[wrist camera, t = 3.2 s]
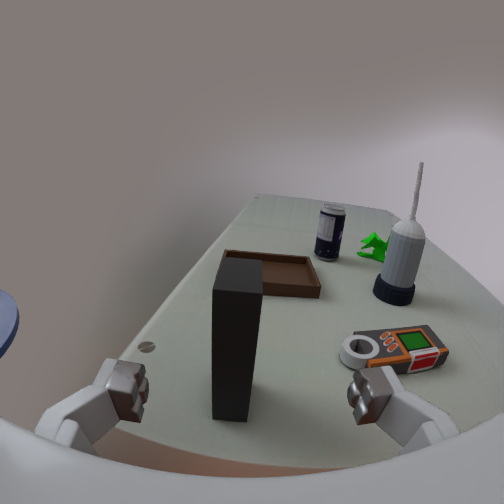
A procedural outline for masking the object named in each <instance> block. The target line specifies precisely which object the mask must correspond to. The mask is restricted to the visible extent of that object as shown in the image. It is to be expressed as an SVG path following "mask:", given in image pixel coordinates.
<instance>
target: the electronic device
mask: <svg viewBox="0 0 504 504" xmlns="http://www.w3.org/2000/svg"><path fill="white" fill-rule="evenodd" d="M352 350H353V351H352ZM448 354H449V350H448V349H447V348H446V347H445V345H444V344H443V343H442V342H441V340H440V339H439V338H438V337H437V336H436V334H435V333H434V332H433V331H432V330H431V328H430V327H429V326H428V325H421V326H413V327H404V328H394V329H383V330H372V331H358V332H354V334H353V335H352V336H349V337H347V338H346V339H345V340H344V342H343V345H342V349H341V352H340V359H341V361H342V362H343V363H344V364H345V365H346V366H348V367H350V368H352V369H356V370H357V369H365V368H373V367H381V366H391V367H392V368H393V370H394V372H395V373H396V374H399V373H405V372H406V374H408V373H413V372H418V371H422V370H427V369H431V368H432V367H434V366H438V365H442V364H444V362H445V360H446V358H447V356H448Z"/></svg>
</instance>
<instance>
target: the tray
mask: <svg viewBox="0 0 504 504" xmlns="http://www.w3.org/2000/svg"><path fill="white" fill-rule="evenodd" d="M223 257H232V258H243V259H255V260H262V273H263V294H264V295H277V296H291V297H306V298H319V295H320V290H321V284H320V282H319V279H318V277H317V275H316V272H315V270H314V268H313V265H312V263H311V260H310V258H309V257H307V256H295V255H283V254H271V253H260V252H248V251H237V250H224V254H223ZM223 257H222V258H223ZM221 261H222V260H221ZM220 264H221V263H220ZM219 267H220V266H219ZM218 270H219V269H218ZM217 274H218V272H217ZM216 277H217V275H216Z"/></svg>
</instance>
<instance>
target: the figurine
mask: <svg viewBox="0 0 504 504" xmlns="http://www.w3.org/2000/svg"><path fill="white" fill-rule="evenodd" d="M389 239H390V236H389ZM389 239H388V241H387V242H386V243H385V242H384V241H382V240H381V239H380V238H379V237H378V236H377V235H376V233H375V232H373V233H372V234H371V235H370V236H369V237H368V238H366V239H364V240H362V241H361V242H363V243H366V244H367V245H365V246H363V247H362V248H361V249H363V248H369V247H371V246H372V247H374V248H375V249H373V254H370V253H363V252H358V253H357V254H358V255H360V256H363V257H370V258H373V259H375V260H380V261H382V262H383V263H384V260H385V250H386V252H387V248H388V243H389ZM374 257H375V258H374Z"/></svg>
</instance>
